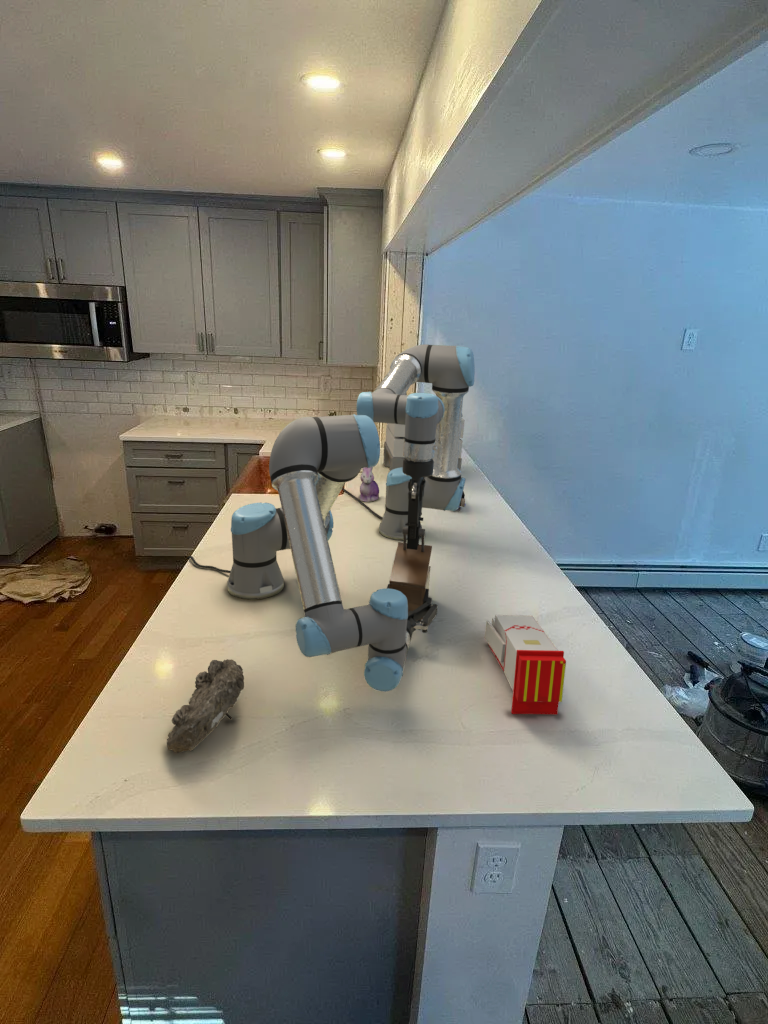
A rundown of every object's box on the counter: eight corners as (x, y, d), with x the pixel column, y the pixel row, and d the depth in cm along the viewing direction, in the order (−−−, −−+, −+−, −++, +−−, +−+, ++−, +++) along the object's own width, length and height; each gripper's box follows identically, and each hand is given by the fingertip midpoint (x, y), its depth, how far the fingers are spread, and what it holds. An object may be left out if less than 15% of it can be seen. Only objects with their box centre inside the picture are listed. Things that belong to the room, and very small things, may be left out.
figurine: (363, 503, 228) (365, 467, 223) (353, 496, 237) (354, 461, 232) (384, 501, 233) (386, 465, 227) (373, 493, 241) (374, 459, 236)
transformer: (382, 463, 289) (386, 382, 275) (445, 464, 293) (451, 384, 279) (390, 482, 257) (394, 392, 243) (460, 483, 261) (468, 394, 247)
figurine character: (465, 515, 224) (460, 499, 237) (467, 498, 221) (462, 483, 234) (448, 515, 224) (444, 499, 237) (450, 498, 220) (445, 482, 234)
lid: (398, 544, 153) (397, 520, 147) (431, 548, 151) (432, 524, 145) (389, 583, 143) (388, 559, 137) (425, 587, 142) (425, 564, 135)
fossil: (192, 660, 117) (244, 628, 112) (224, 691, 120) (276, 661, 115) (142, 746, 98) (202, 712, 93) (182, 779, 101) (242, 748, 96)
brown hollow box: (395, 593, 158) (397, 562, 155) (428, 597, 157) (430, 566, 154) (387, 616, 146) (389, 583, 143) (422, 621, 145) (425, 588, 141)
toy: (530, 600, 137) (574, 657, 108) (525, 651, 140) (567, 720, 111) (480, 599, 137) (511, 656, 107) (477, 651, 139) (506, 719, 110)
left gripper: (345, 645, 128) (366, 598, 149) (442, 658, 125) (449, 609, 146) (346, 616, 126) (367, 573, 147) (444, 629, 122) (451, 583, 143)
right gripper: (430, 467, 131) (424, 560, 139) (436, 452, 145) (430, 537, 153) (398, 464, 132) (393, 556, 140) (407, 449, 146) (402, 534, 154)
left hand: (408, 591), depth 146 cm, fingers closed on brown hollow box, 9 cm apart
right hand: (412, 546), depth 146 cm, fingers closed on lid, 2 cm apart
